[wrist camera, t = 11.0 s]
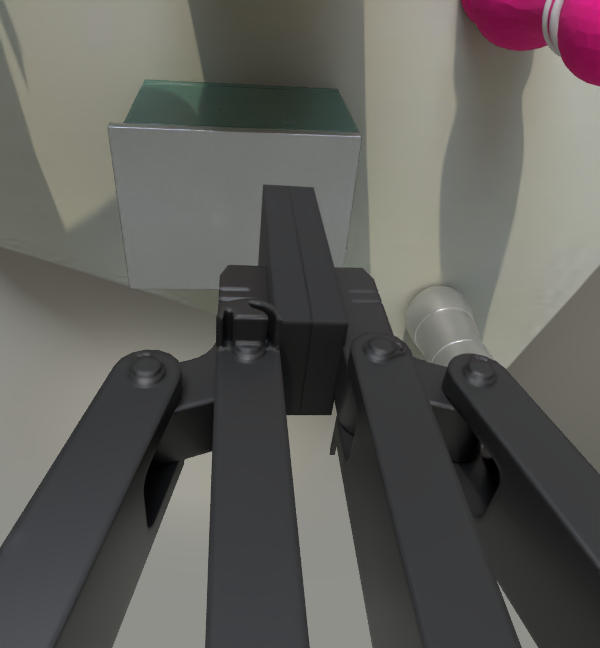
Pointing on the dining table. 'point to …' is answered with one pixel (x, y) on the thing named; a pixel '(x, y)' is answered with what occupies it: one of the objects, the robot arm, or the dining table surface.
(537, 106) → the dining table surface
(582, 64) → the pepper mill
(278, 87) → the tin
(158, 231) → the lid
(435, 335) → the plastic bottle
